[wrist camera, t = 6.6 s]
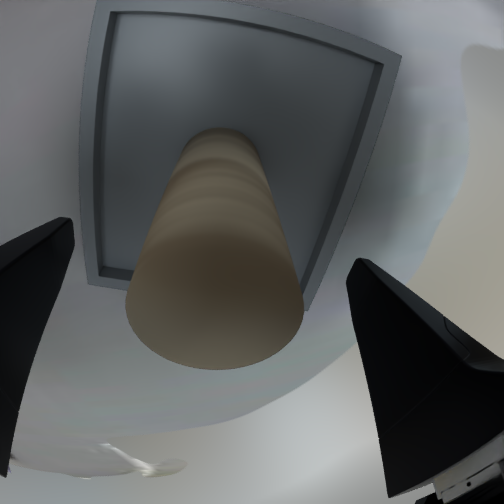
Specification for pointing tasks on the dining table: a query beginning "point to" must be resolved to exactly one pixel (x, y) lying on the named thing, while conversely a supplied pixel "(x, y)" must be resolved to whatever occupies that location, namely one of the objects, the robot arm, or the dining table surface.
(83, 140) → the charcoal tray
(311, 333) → the dining table surface
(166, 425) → the dining table surface
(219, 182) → the dowel pin
